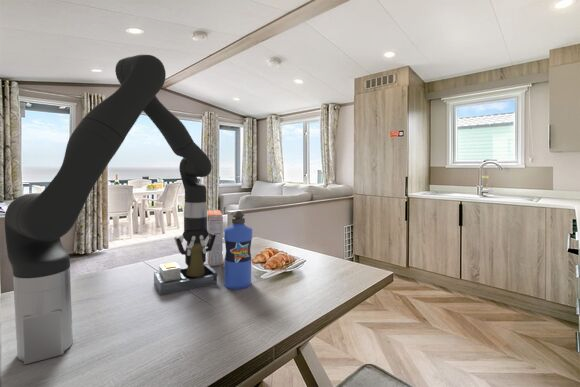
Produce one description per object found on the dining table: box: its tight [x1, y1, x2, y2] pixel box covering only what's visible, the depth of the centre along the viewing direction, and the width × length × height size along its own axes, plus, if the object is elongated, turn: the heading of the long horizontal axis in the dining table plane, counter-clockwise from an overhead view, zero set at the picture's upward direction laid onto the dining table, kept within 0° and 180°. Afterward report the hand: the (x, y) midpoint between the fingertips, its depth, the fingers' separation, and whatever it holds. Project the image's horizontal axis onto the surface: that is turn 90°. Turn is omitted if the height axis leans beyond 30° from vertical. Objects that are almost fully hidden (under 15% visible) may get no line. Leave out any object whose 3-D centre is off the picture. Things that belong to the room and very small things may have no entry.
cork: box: [186, 243, 205, 277], centre depth 102 cm, size 6×6×11 cm
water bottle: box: [223, 210, 253, 290], centre depth 101 cm, size 9×9×25 cm
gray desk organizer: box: [153, 262, 218, 296], centre depth 101 cm, size 10×18×7 cm, turn 125°
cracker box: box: [206, 209, 224, 267], centre depth 125 cm, size 14×6×21 cm, turn 17°
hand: (195, 264), depth 102 cm, fingers closed on cork, 4 cm apart
